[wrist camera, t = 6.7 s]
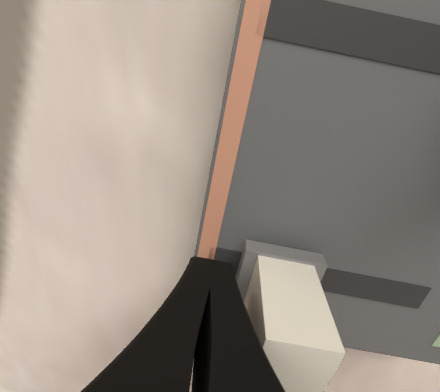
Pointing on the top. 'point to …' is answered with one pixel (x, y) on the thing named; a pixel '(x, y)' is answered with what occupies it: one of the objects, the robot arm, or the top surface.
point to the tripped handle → (290, 314)
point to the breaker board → (338, 159)
